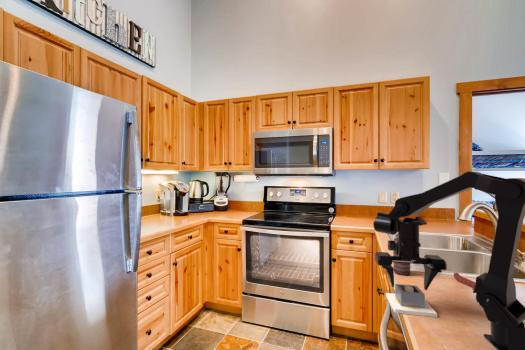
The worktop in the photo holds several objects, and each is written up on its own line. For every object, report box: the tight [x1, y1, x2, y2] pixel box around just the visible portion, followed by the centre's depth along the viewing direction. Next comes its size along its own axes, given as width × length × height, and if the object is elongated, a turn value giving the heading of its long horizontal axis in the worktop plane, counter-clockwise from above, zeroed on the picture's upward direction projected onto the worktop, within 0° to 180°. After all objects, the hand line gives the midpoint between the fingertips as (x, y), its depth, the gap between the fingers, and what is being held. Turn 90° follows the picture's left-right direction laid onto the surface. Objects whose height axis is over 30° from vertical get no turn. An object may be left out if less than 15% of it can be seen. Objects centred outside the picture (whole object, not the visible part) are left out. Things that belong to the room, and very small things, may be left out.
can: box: [392, 237, 411, 277], centre depth 106 cm, size 6×6×14 cm
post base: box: [385, 286, 438, 318], centre depth 79 cm, size 11×11×6 cm
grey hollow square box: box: [394, 283, 426, 308], centre depth 79 cm, size 6×6×4 cm
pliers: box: [453, 272, 476, 291], centre depth 91 cm, size 12×20×3 cm, turn 157°
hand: (408, 288), depth 79 cm, fingers open, 9 cm apart
